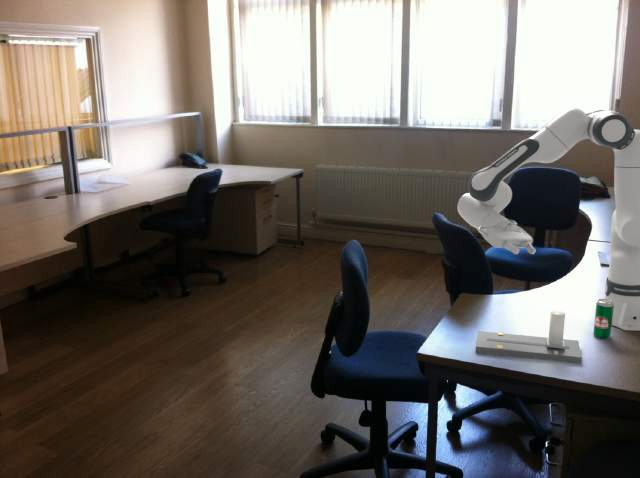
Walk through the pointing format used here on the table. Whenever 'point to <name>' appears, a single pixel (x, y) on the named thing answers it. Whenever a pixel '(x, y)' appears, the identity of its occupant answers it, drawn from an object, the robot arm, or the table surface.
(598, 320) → the soda can
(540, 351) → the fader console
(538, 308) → the table surface
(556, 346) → the fader knob
